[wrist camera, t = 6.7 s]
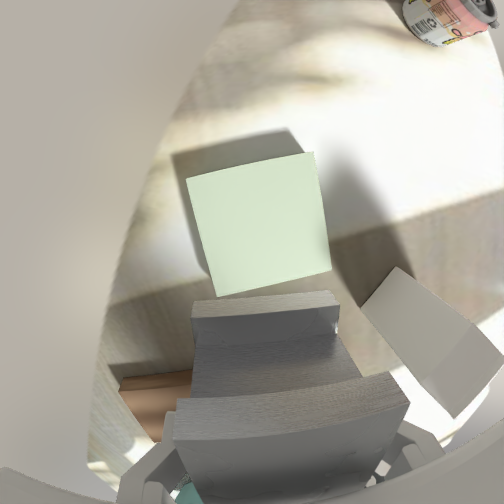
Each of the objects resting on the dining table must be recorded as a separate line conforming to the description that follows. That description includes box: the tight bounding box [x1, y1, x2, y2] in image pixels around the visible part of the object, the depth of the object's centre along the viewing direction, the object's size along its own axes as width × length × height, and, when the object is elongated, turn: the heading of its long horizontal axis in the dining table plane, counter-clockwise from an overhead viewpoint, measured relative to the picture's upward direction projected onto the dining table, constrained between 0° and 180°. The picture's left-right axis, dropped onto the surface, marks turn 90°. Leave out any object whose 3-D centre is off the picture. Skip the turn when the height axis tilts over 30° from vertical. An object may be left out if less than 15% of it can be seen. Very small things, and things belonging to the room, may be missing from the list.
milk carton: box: [360, 267, 504, 420], centre depth 26 cm, size 7×7×19 cm
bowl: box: [175, 482, 204, 504], centre depth 42 cm, size 16×16×8 cm
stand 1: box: [118, 369, 193, 443], centre depth 36 cm, size 12×12×3 cm
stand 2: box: [186, 152, 332, 297], centre depth 29 cm, size 12×12×3 cm
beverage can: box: [402, 0, 499, 47], centre depth 18 cm, size 9×8×12 cm
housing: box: [172, 290, 410, 504], centre depth 9 cm, size 5×9×6 cm, turn 3°
